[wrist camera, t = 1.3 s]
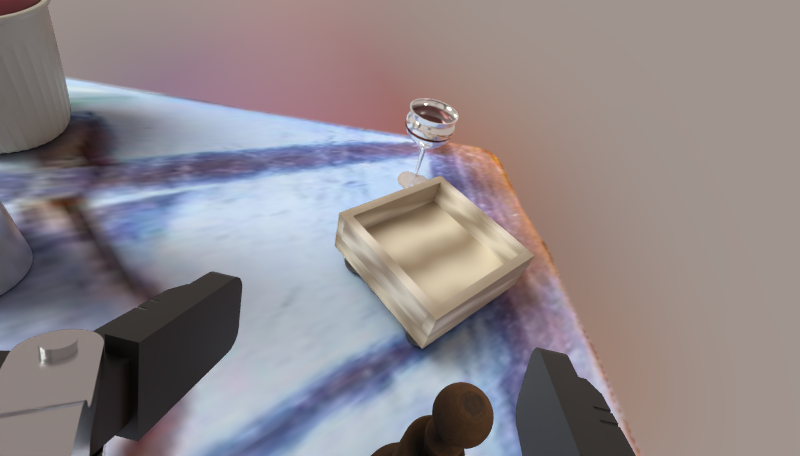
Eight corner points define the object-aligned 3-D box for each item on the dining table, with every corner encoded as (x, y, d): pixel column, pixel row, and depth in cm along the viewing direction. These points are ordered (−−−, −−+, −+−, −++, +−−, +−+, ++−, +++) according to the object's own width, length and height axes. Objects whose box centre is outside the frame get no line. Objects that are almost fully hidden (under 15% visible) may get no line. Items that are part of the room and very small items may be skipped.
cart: (332, 262, 47) (339, 212, 41) (424, 221, 55) (440, 175, 50) (414, 364, 40) (436, 320, 34) (505, 298, 48) (534, 255, 43)
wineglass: (442, 193, 61) (468, 124, 52) (402, 198, 58) (422, 125, 50) (423, 166, 65) (444, 97, 56) (385, 169, 62) (401, 98, 54)
